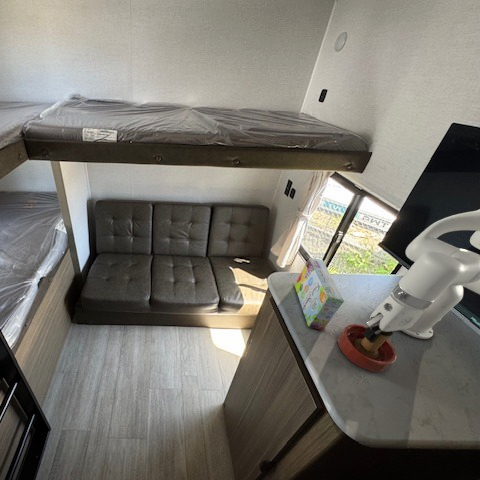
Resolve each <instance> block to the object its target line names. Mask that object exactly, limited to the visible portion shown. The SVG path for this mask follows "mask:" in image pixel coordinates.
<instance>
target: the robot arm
mask: <svg viewBox="0 0 480 480" xmlns="http://www.w3.org/2000/svg"><path fill="white" fill-rule="evenodd" d="M457 231H475V232H474V233H473V234H472V235H471V236H470V239H469V242H470V244H471V246H473V247H474V248H476V249H478V250H480V208H479V209H477V210H473V211H467V212H462V213H457V214H453V215H450V216H446V217H444V218H442V219H439V220H436V221H435V222H433V223H432V224H430V225H429V226H428V227H426V228H425V229H424V230H423V231H422V232H420V233H419V234H418V236H416V237H415V238H414V239H412V241H411V242H410V243H409V244H408V245H407V247H406V249H405V256H406V257H407V258H408V259H409V260H410V261H412V262H414V263H413V264H412V265H411V267H410V268H409V269H407V271H406V272H405V274H403V276H402V277H401V279H400V280H399V281H398V282H397V283H396V284H395V286H394V287H393V288H392V289H391V291H390V294H389V295H388V296H387V297H386V298H385V299H384V300H383V301H382V302H380V304H379V305H378V306H377V307H376V308H375V309H374V311H372V313H371V314H370V316H369V319H370V320H368V321H367V322H365V326H366V327H368V328H367V329H366V330H365V331H364V333H363V335H364V336H365V337H366V339H367V340H368V341H369V342H370V343H373V342H374V341H375V340H376V339H377V338H378V337H379V336H380V334H379V333H380V332H382V331H385V332H389V331H390V333H391V336H392V335H393V334H394V333H395V332H397V331H400V332H403V333H404V334H406V335H408V336H410V337H413V338H416V339H421V340H428V339H430V338H431V337H432V336H433V335H434V330H433V327H434V326H435V325H436V324H437V323H439V322H441V321H442V318H444V316H446V315H447V314H448V313H449V312H450V311H451V310H452V309H454V307H455V306H456V305H458V304H459V303H460V302H461V301H462V299H463V298H464V288H466V289H468V290H469V291H471V292H474V293H476V294H478V295H480V254H478V253H477V252H474V251H471V250H468V249H464V248H459V247H456V246H454V245H452V244H450V243H448V242H446V241H443V240H440V239H438V238H439V237H440V236H442V235H444V234H447V233H451V232H457ZM375 325H378V326H379V329H377V328H376V327H375Z"/></svg>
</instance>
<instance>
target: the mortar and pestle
mask: <svg viewBox="0 0 480 480" xmlns="http://www.w3.org/2000/svg"><path fill="white" fill-rule="evenodd" d="M375 327H376V328H377V329H379V326H378V325H377V324H376V325H375ZM379 334H380V336H379V337H378V338H377V339H376V340H375V341H374V342H373V343H370V342H369V341H368V340H367V339H366V337H365V338H364V339H356V340H355V341H354V342H353V343H352V345H353V346H354V347H355V349H357V350H358V351H359V352H360V353H362V354H363V355H365V356H367V357H368V358H371V359H373V360H376V359H377V358H378V356H379V352H378V350H377V349H378V348H379V347H380V346H381V345H382V344H383V343H384V342H385V341H386V340H389V338H390V337H391V336H392V335H391V333H390V331H389V332H385V331H382V332H380V333H379Z"/></svg>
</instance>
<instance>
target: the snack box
mask: <svg viewBox="0 0 480 480" xmlns="http://www.w3.org/2000/svg"><path fill="white" fill-rule="evenodd" d="M294 288H295V291H296V294H297V298H298V300H299V303H300V306H301V309H302V313H303V315H304V319H305V322H306V324H307V327H308V328H312V329H316V330H320V331H324V329H325V328H326V326H328V324H329V322H330V321H332V318H334V316H335V315H336V313H337V311H338V310H339V309H340V307H341V306H342V305H343V304H344V303H345V299H344V297H343V295H342V293H341V292H340V289H339V288H338V286H337V285H336V282H335V281H334V278H333V276H332V274H331V273H330V271H329V269H328V267H327V265H326V263H325V262H324V260H323V259H320V258H314V257H313V258H312V257H308V258H307V261H306V262H305V264H304V266H303V268H302V270H301V272H300V274H299V275H298V278H297V280H296V281H295V284H294Z"/></svg>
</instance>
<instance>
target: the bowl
mask: <svg viewBox="0 0 480 480" xmlns="http://www.w3.org/2000/svg"><path fill="white" fill-rule="evenodd" d="M367 328H368V326H367V325H362V324H356V323H354V324H353V323H352V324H349V325H347V326H345V327H344V329H343V330H342V331H341V333H340V334H339V335H338V338H337V344H338V347H339V348H340V351H341V352H342V353H343V354H344V356H345V357H346V358H347V359H348V360H349V361H351V362H352V363H353V364H355V365H356V366H358V367H359V368H361V369H364V370H367V371H369V372H374V373H380V372H385V370H387V369H388V368H389V367H390V366H391V365H393V363H394V362H396V360H397V353H396V349H395V348H394V347H393V345H392V343H391V342H390V341H389V339H387V340H386V341H385V342H384V343H383V344H382V345H381V346H380V347H379V348H378V349H377V350H378V352H379V356H378V358H377V359H376V360H373V359H371V358H368V357H367V356H365V355H363V354H362V353H360V352H359V351H358V350H357V349H355V347H354V346H353V345H352V343H353V342H354V341H355V340H356V339H364V338H365V336H364V335H363V333H364V331H365V330H366V329H367Z"/></svg>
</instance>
